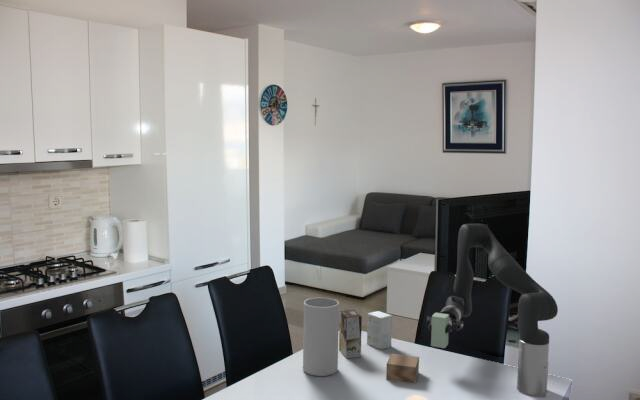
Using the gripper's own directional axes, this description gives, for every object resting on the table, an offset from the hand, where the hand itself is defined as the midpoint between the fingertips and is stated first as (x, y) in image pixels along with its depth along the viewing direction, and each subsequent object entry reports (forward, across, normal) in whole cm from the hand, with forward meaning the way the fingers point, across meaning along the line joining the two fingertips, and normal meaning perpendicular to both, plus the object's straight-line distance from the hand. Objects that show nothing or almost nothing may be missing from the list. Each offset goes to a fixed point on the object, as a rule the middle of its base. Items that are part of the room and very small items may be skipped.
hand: (438, 329), depth 199 cm
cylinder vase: (+17, -38, +16) cm, 45 cm away
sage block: (-3, 0, +6) cm, 7 cm away
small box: (-17, -28, +16) cm, 37 cm away
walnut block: (+8, -10, +16) cm, 21 cm away
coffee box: (-3, -35, +16) cm, 39 cm away
